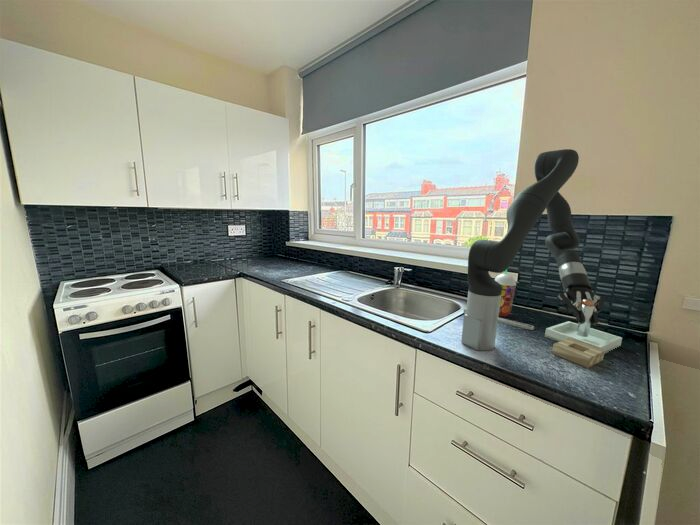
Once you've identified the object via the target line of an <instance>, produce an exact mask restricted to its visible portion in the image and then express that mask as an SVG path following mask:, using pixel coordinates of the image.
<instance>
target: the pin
mask: <svg viewBox="0 0 700 525" xmlns="http://www.w3.org/2000/svg"><path fill="white" fill-rule="evenodd" d="M595 304H596V302H595V301H594V299H592V300H590V299H583V300H582V304H581V311H582V312H583V315H584V318H585V322H584V323H583V324H580V323H579V322H577V324H578V328H577V335H579V336H582V337H588V335H589V329H590V328H591V325H592V324H591V319H592V314H593V309H594V306H595Z"/></svg>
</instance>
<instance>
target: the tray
mask: <svg viewBox="0 0 700 525" xmlns="http://www.w3.org/2000/svg"><path fill="white" fill-rule="evenodd" d="M577 328H578V323H576V322H572V321H569V320H568V321H565V322H562V323H558V324H555V325H552V326H549V327H546V328H545V331H544V332H545V333H544V338H547V339H550V340H551V341H555V342H560V341H563V340H565V339H568V338H570V339H573V340H575V341H578V342H581V343H584V344H587V345H590V346H592V347H595V348H598V349H601V350H604V351H605V352H604V355H605V354H607V353H609V351H610V352H611V350H612V351H614V350H616V349H618V348H620V347H621V345H622V341H623V337H621V336H618V335H614V334H612V333H609V332H605V331H601V330H599V329H597V328H596V329H595V328H593V327H590V329H589V335H588V337H582V336H579V335H577ZM619 346H620V347H619ZM617 347H618V348H617ZM615 348H616V349H615ZM613 349H614V350H613Z"/></svg>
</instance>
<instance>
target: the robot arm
mask: <svg viewBox="0 0 700 525" xmlns="http://www.w3.org/2000/svg"><path fill="white" fill-rule="evenodd" d="M579 161H580V156H579V153H578V152H577V150H575V149H569V148H568V149H567V148H565V149H564V148H563V149H558V150H550V151H549V150H548V151H545V152H540V153H539V154H538V155H537V156H536V158H535V160H534V166H533V170H534V177H535V180H536V182H534V183H533V184H530V185H529V186H527V187H526V188H524V189H522V190H521V191H519V193H517V195H516V197H515V198H513V200H512V202H511V203H510V204H509V205H508V208H507V210H506V222H507V227H508V229H507V232H506V234H505V235H504V236H503V238H502V239H500V240H499V241H497V240H490V239H489V240H488V239H476V240H475V241H474V242H473V243H472V245H471V246H470V248H469V252H468V260H467V277H466V278H467V284H468V290H467V291H468V292H467V299H466V308H465V309H466V314H465V315H463V322H462V331H461V332H462V333H461V341H460V342H461V343H462V344H464V345H465V346H467V347H469V348H471V349H473V350H476V351H491V350H494V349H495V347H496V341H497V331H498V324H499V322H498V317H500V316H499V308H500V301H501V293H502V286H501V285H500V284H499V283H498V282H497V281H495V278H493V277H492V276H491V274H490V272H491V273H496V274H503V273H505V270H507V271H508V269H509V267H510V266H511V264H512V263H513V262H514V259H515V258H516V256H517V254H518V252H519V250H520V248H521V246H522V244H524V241H525V240H526V238H527V236H528V234H530V232H531V230H532V229H533V227H534V226H535V224H536V223H537V222H538V220H539V219H540V218H541V216H542V215H543V213H544V212H545V211H546V215H547V224H548V229H549V230H550V231H552V232H556V233H551V234H549V235H547V237H546V238H545V239H544V244H545V247H546V248H547V251H549V252H550V254H551V256H553V258H554V259H555V262H556V265H557V268H558V274H559V278H560V280H561V281H560V282H561V284H562V288H563V290H564V292H561V293H559V294H558V295H557V296H556V298H557V300H558V302H560V303H561V305H562V306H563V307H564V308H565V309H566V311H568V312H573V314H574V316H575V319H576V321H577V323H580V324H583V323H584V322H585V318H584V315H583V312H582V311H581V307H582V300H583V299H590V300H594V301H595V305H594V309H593V314H592V319H591V324H590V325H592V326H596V325H597V324H598V323H599V322H600V319H599V317H598V314H599V313H600V312H602V311H603V309H604V305H605V299H606V297H605V296H604V295H601V296H599V295H596V293H594V292H593V290H592V285H591V284H592V283H591V282H590V279H589V277H588V273H587V270H586V268H585V267H584V266H583V262H582V260H581V257H580V254H579V252H578V251H575V249H577V248H578V247H579V246H580V244H581V240H580V237H579V235H578V233H577V232H576V230H575V228H574V225H573V220H572V209H571V206H570V204H569V202H568V200H566V198H565V197H563V195H562V194H561V193H560V192H559V191H560V189H561V188H562V187H563V186H565V184H566V183H567V182H568V180H570V178H571V177H572V176H573V175H574V173H575V172H576V169H577V167H578V165H579Z"/></svg>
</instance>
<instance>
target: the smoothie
mask: <svg viewBox="0 0 700 525" xmlns="http://www.w3.org/2000/svg"><path fill="white" fill-rule="evenodd" d="M494 280H495V281H497V282H498V283H499V284H500V285H501V286H502V293H501V301H500V308H499V316H498V317H507V316H509V314H511V311H512V307H513V302H514V299H515V298H514V297H515V293H516V292H515V291H516V287H517V282H516V280H515V278H514V277H513V276H512V275H510V274H509V273H508V269H507V270H505V271H504V272H503V273H499V274H498V275H496V277H495V278H494Z"/></svg>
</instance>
